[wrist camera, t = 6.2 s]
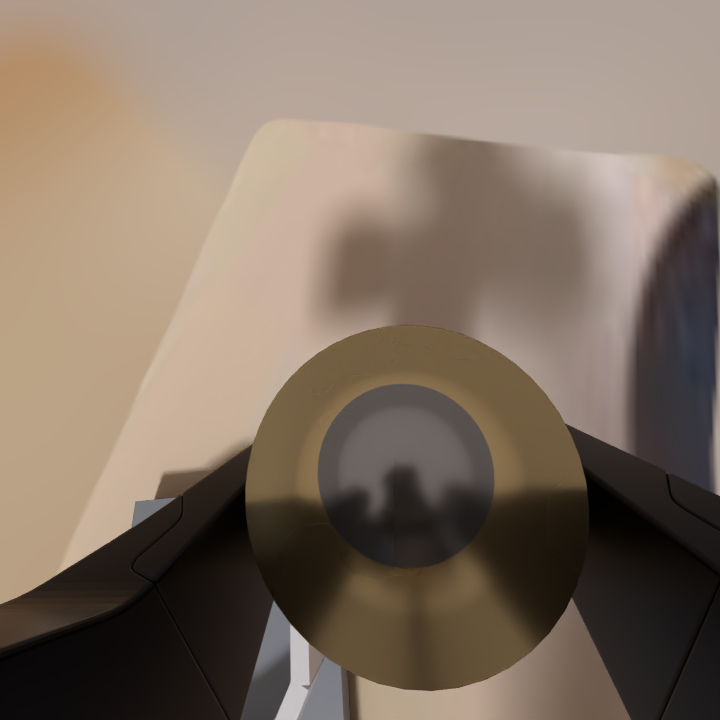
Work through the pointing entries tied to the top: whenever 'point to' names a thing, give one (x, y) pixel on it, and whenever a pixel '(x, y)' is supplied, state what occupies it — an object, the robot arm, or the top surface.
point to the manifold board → (285, 667)
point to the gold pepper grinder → (417, 508)
